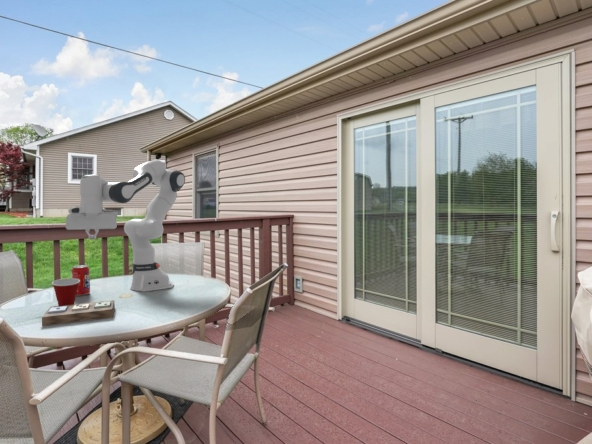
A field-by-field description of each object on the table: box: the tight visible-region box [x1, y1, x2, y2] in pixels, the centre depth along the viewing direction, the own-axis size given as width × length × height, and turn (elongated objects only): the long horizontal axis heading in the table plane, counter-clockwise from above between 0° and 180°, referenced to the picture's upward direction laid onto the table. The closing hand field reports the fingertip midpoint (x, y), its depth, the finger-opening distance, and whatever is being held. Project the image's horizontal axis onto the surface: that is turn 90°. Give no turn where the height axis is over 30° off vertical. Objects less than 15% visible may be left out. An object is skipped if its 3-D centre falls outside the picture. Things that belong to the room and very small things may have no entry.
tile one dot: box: [48, 306, 67, 314], centre depth 136 cm, size 6×6×3 cm
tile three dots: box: [72, 303, 90, 311], centre depth 140 cm, size 6×6×3 cm
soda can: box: [71, 264, 91, 297], centre depth 172 cm, size 8×8×15 cm
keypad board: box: [41, 299, 116, 327], centre depth 140 cm, size 24×14×4 cm, turn 116°
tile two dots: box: [95, 301, 111, 308], centre depth 143 cm, size 6×6×3 cm
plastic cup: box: [51, 277, 80, 306], centre depth 152 cm, size 11×11×12 cm
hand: (92, 239), depth 154 cm, fingers closed
